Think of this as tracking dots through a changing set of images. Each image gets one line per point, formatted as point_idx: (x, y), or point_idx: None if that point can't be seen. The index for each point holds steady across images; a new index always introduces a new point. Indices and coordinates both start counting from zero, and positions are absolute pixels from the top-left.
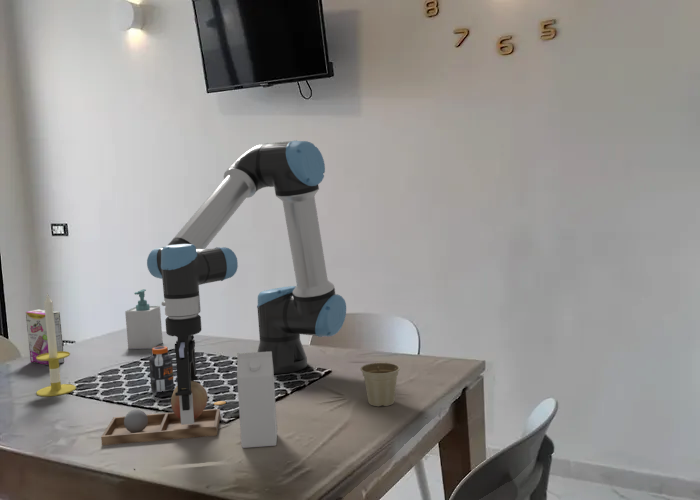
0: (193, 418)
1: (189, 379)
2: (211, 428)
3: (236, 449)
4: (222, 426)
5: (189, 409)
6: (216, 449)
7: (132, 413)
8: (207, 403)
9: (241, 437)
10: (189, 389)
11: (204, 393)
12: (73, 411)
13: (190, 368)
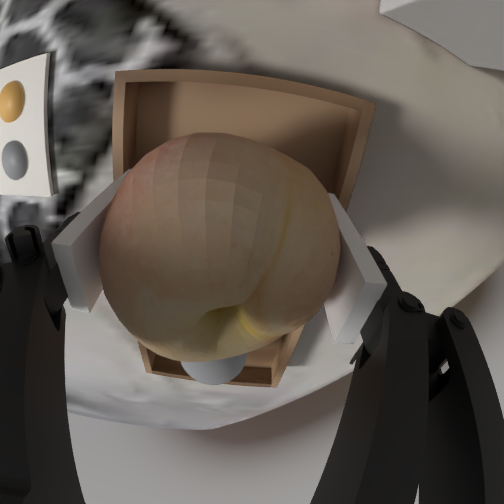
0: (339, 204)
1: (471, 386)
2: (370, 122)
3: (466, 79)
4: (231, 60)
5: (369, 247)
6: (445, 128)
7: (226, 380)
8: (7, 143)
9: (491, 67)
10: (468, 331)
11: (263, 167)
12: (71, 379)
13: (380, 479)
